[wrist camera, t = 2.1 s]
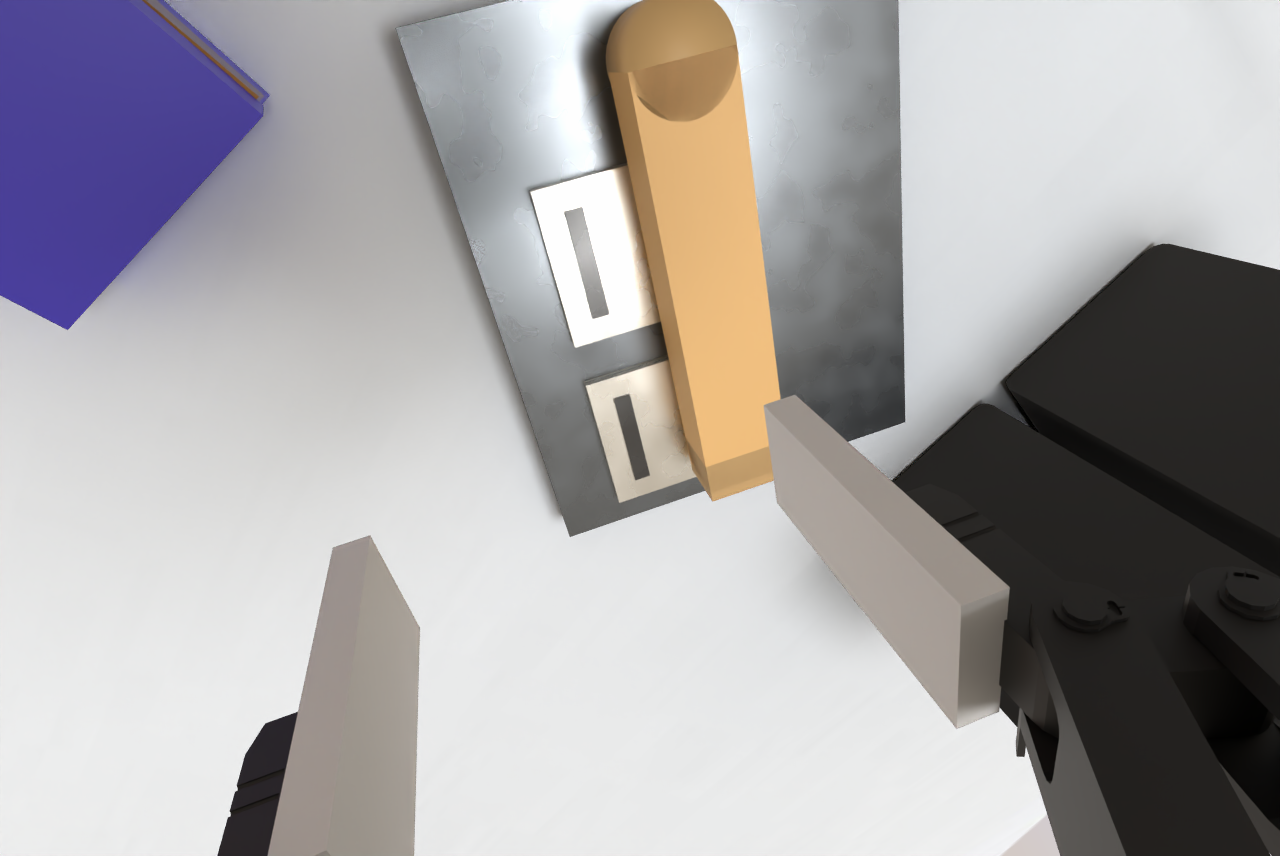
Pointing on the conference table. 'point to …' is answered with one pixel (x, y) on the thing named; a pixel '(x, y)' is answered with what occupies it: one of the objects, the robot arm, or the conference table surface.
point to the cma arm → (699, 228)
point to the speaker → (1137, 433)
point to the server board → (612, 236)
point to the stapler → (103, 139)
